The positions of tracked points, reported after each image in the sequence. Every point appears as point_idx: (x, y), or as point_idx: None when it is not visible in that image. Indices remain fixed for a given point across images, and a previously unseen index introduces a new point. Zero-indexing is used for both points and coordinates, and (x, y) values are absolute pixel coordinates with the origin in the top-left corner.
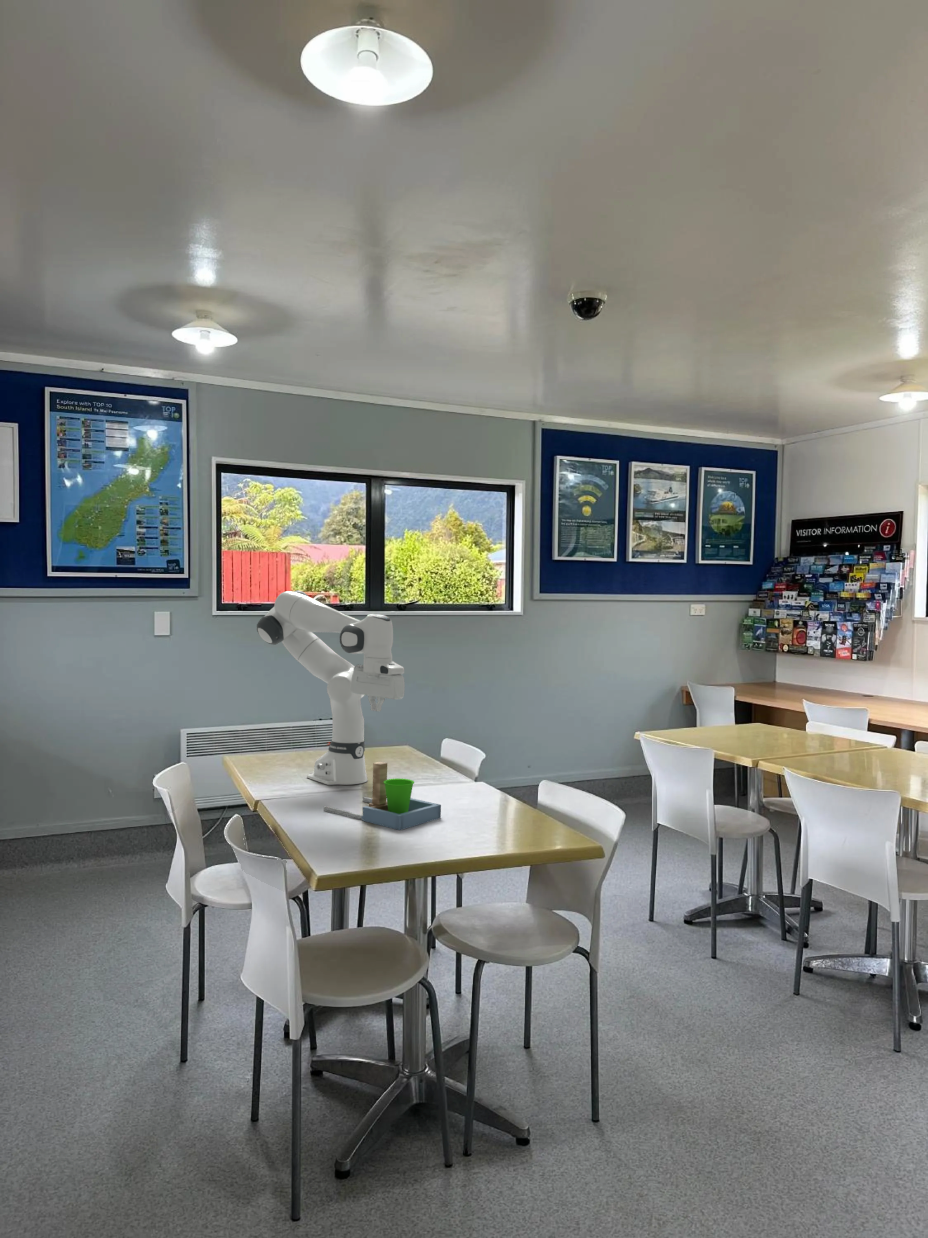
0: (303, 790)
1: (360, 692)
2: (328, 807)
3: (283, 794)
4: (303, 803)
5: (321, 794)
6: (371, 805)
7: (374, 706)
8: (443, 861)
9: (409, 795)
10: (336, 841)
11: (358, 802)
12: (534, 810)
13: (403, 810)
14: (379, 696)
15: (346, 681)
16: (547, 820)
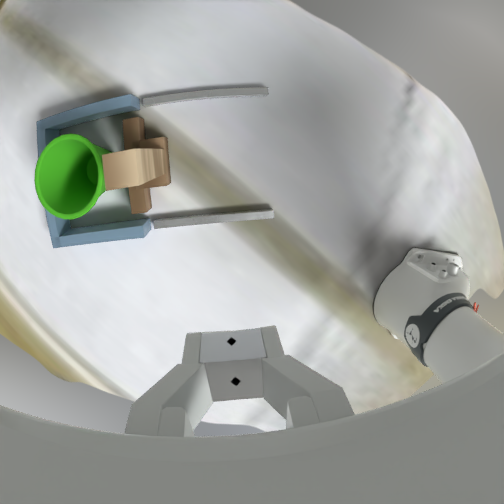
0: (418, 185)
1: (476, 383)
2: (254, 88)
3: (419, 136)
4: (345, 104)
5: (376, 186)
6: (153, 138)
7: (226, 353)
8: None
9: (56, 185)
10: (85, 6)
11: (271, 195)
12: (54, 371)
13: (75, 167)
14: (91, 433)
15: None
16: (12, 341)
